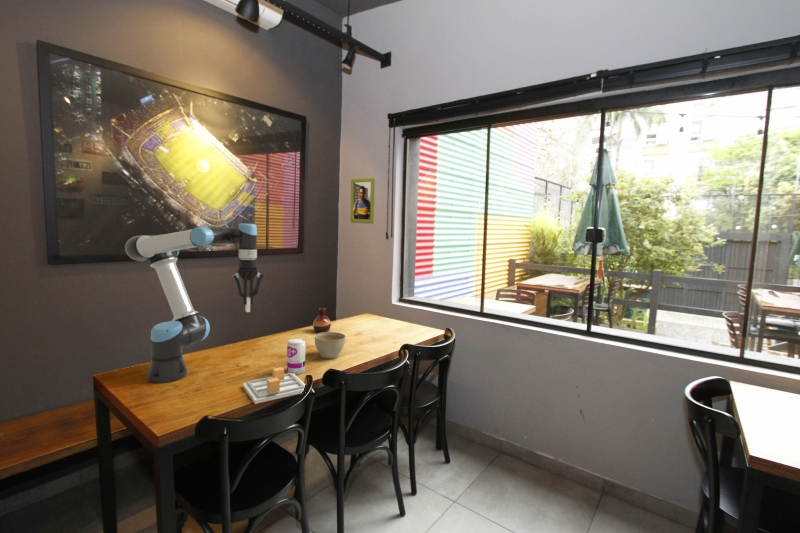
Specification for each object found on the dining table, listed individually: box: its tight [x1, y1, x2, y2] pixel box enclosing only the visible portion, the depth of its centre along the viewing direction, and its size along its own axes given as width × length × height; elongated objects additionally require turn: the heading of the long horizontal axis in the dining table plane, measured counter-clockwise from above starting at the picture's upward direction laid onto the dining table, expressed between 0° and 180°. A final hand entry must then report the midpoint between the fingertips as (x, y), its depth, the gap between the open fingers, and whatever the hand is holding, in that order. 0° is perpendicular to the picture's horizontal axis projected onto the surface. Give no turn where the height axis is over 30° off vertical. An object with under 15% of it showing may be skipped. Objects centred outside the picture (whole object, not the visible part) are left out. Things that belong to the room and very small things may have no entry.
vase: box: [312, 307, 332, 334], centre depth 247 cm, size 11×11×15 cm
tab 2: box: [267, 377, 280, 393], centre depth 156 cm, size 4×3×5 cm
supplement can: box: [286, 338, 306, 375], centre depth 180 cm, size 8×8×15 cm
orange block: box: [272, 366, 285, 380], centre depth 167 cm, size 4×3×5 cm
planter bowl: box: [314, 331, 346, 359], centre depth 204 cm, size 16×16×11 cm
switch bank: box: [242, 372, 306, 405], centre depth 162 cm, size 22×18×2 cm
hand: (247, 311), depth 172 cm, fingers closed
